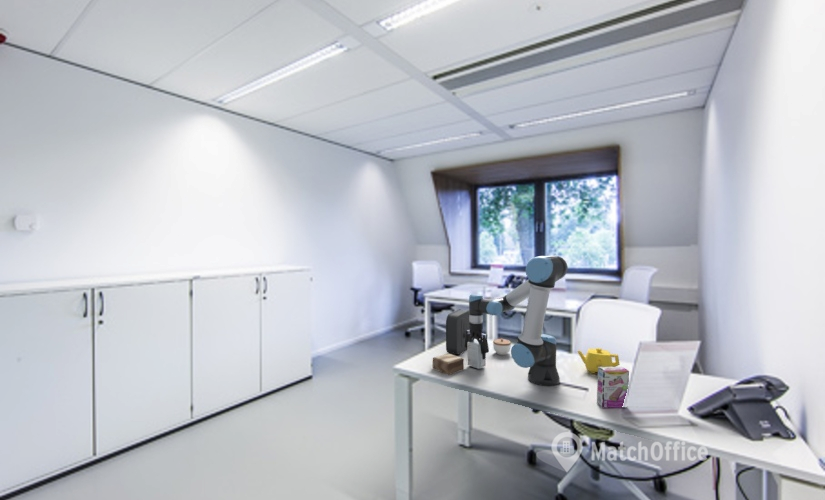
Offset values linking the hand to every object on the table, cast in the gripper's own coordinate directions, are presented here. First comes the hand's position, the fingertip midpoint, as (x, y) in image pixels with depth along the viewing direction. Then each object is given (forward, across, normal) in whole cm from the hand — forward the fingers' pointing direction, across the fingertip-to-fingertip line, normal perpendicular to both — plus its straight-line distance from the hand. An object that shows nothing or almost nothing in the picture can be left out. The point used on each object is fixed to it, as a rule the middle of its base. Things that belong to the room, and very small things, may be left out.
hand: (476, 362), depth 195 cm
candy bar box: (+4, -67, -9) cm, 68 cm away
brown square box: (+2, +8, +14) cm, 17 cm away
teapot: (+4, -48, -43) cm, 64 cm away
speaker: (+2, +25, -15) cm, 29 cm away
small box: (+2, 0, 0) cm, 2 cm away
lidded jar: (+3, +4, -30) cm, 30 cm away
